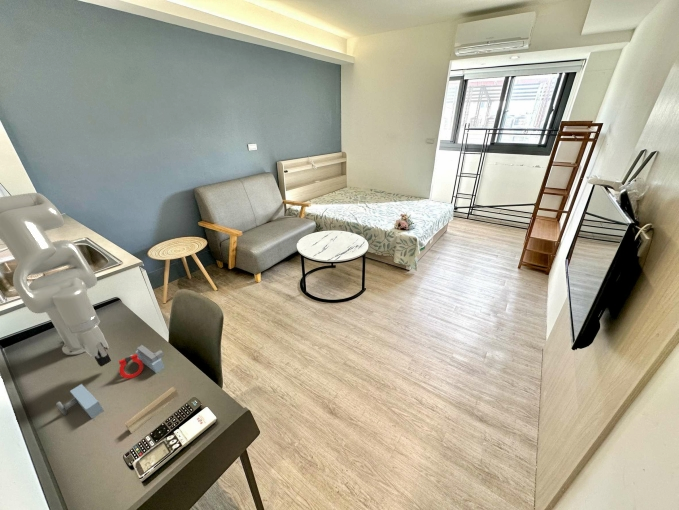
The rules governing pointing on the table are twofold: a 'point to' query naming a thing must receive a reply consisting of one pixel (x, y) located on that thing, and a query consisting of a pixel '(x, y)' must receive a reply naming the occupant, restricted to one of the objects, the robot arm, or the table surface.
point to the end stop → (151, 410)
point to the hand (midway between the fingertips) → (105, 362)
